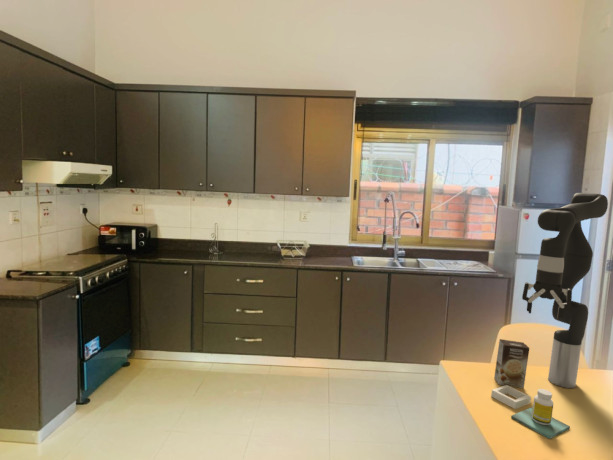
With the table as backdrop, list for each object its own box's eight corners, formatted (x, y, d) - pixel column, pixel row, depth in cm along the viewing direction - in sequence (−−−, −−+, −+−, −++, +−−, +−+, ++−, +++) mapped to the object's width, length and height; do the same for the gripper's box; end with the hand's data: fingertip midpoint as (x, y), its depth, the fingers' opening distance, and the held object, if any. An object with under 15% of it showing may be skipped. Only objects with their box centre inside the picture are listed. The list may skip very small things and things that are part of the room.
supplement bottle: (553, 427, 123) (557, 397, 122) (534, 424, 124) (538, 394, 123) (546, 417, 128) (550, 389, 127) (528, 414, 129) (532, 386, 128)
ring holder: (505, 391, 146) (506, 384, 145) (530, 403, 138) (530, 396, 138) (491, 396, 141) (491, 389, 141) (515, 409, 133) (516, 402, 133)
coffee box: (498, 385, 150) (503, 344, 148) (493, 377, 156) (498, 338, 155) (524, 388, 149) (529, 348, 147) (518, 380, 155) (523, 341, 153)
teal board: (531, 409, 134) (531, 407, 134) (569, 428, 124) (569, 426, 124) (511, 417, 128) (511, 415, 128) (549, 438, 118) (549, 436, 118)
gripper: (526, 267, 133) (520, 313, 135) (576, 274, 126) (569, 323, 128) (526, 264, 139) (520, 308, 141) (573, 270, 133) (567, 317, 134)
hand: (544, 315), depth 134 cm, fingers open, 8 cm apart
